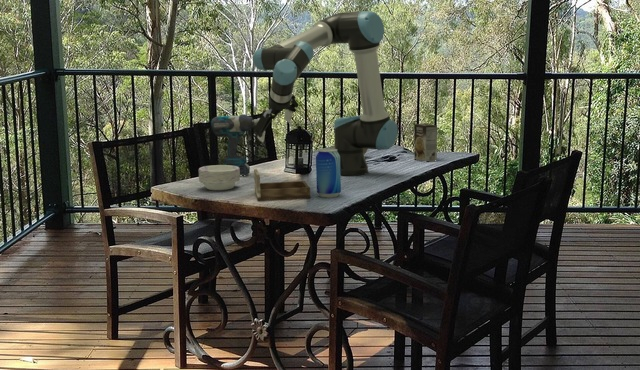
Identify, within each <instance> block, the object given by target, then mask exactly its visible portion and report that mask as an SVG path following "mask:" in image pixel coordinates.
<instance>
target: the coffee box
mask: <svg viewBox="0 0 640 370" xmlns="http://www.w3.org/2000/svg"><path fill="white" fill-rule="evenodd" d="M413 125H414V129H413V130H414V131H413V132H414V133H413V134H414V135H413V136H414V140H413V142H414V145H413V146H414V160H415V159H416V160H415V161H418V160H421V161H420V162H422V161H432V162H436V161H435V160H438V159H437V158H438V157H437V156H438V154H437V153H438V125H437V124H431V123H415V124H413Z"/></svg>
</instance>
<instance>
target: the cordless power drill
mask: <svg viewBox="0 0 640 370" xmlns="http://www.w3.org/2000/svg"><path fill="white" fill-rule="evenodd" d="M259 119H260V117H258V118H257V119H256V118H255V119H254V118H253V117H252V116H249V115H247V114H243V113H242V114H239V115H221V116H214V117H213V118H212V119H211V120H210V127H211V131H212V132H213V134H214V136H216V137H217V138H221V137H227V138H228V140H227V155H226V156H225V157H224V158H223V159H224V160H223V165H231V166H237V167H239V168H240V175H242V176H243V177H245V176H244V175H246V176H247V175H249V174H250V169H251V168H250V165H249V164H248V163H247V158H245V157H244V156H239V155H238V154H237V149H238V145H239V142H241V141H242V135H245V133H246V132H248V131H250V130H252V129H254V128H255V126H256V125H257V123H258V121H259Z"/></svg>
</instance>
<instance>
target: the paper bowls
mask: <svg viewBox="0 0 640 370" xmlns="http://www.w3.org/2000/svg"><path fill="white" fill-rule="evenodd" d="M240 180H241V177H240V168H239V167H237V166H231V165H225V164H216V165H215V164H214V165H204V166H201V167H199V168H198V181H199V182H200V183H203V185H204V187H205V189H207V190H210V191H227V190H230V189H233V188H234V187H235V185H236V183H237V182H239V181H240Z"/></svg>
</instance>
